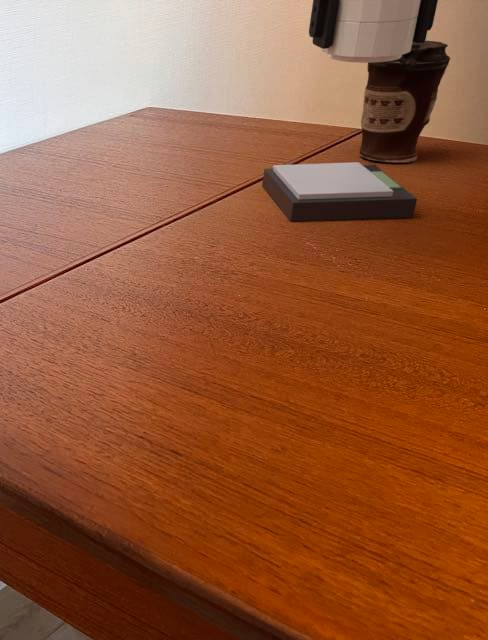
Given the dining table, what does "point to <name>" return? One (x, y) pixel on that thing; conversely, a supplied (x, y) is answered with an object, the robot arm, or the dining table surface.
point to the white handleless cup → (373, 30)
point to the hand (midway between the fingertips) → (367, 41)
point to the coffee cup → (401, 102)
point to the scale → (337, 192)
